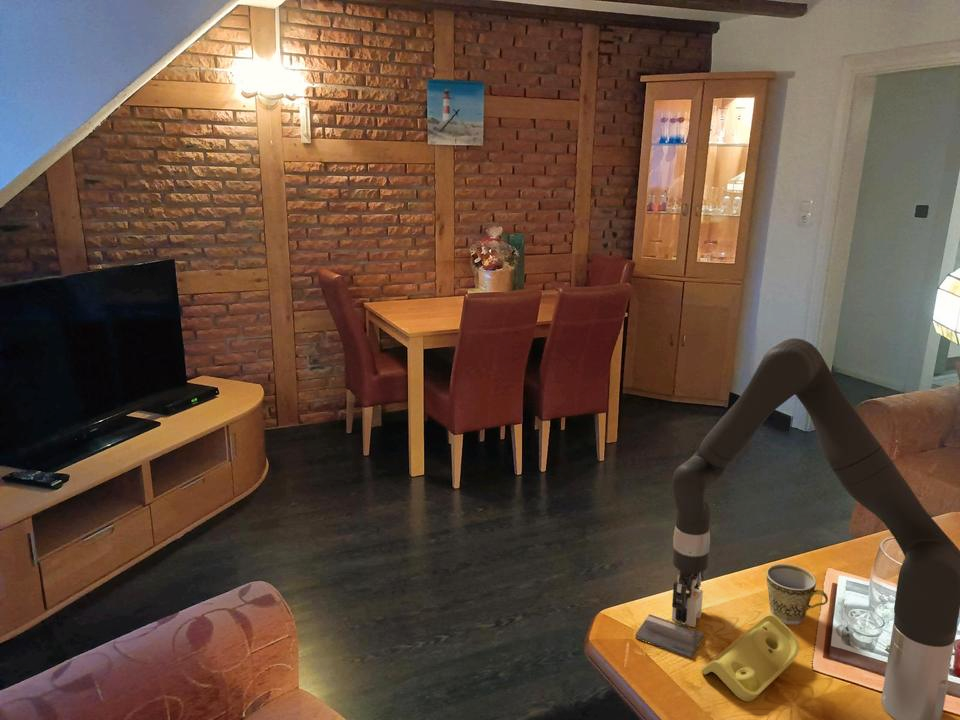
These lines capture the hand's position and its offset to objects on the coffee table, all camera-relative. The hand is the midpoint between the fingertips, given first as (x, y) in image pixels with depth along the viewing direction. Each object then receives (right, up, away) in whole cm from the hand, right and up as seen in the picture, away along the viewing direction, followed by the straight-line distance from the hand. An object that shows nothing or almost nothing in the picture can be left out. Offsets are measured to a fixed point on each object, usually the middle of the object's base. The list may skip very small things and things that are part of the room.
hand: (687, 610), depth 154 cm
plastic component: (+8, -7, -16) cm, 19 cm away
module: (0, -2, +1) cm, 2 cm away
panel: (-6, -4, -6) cm, 9 cm away
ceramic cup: (+23, -2, -1) cm, 23 cm away
